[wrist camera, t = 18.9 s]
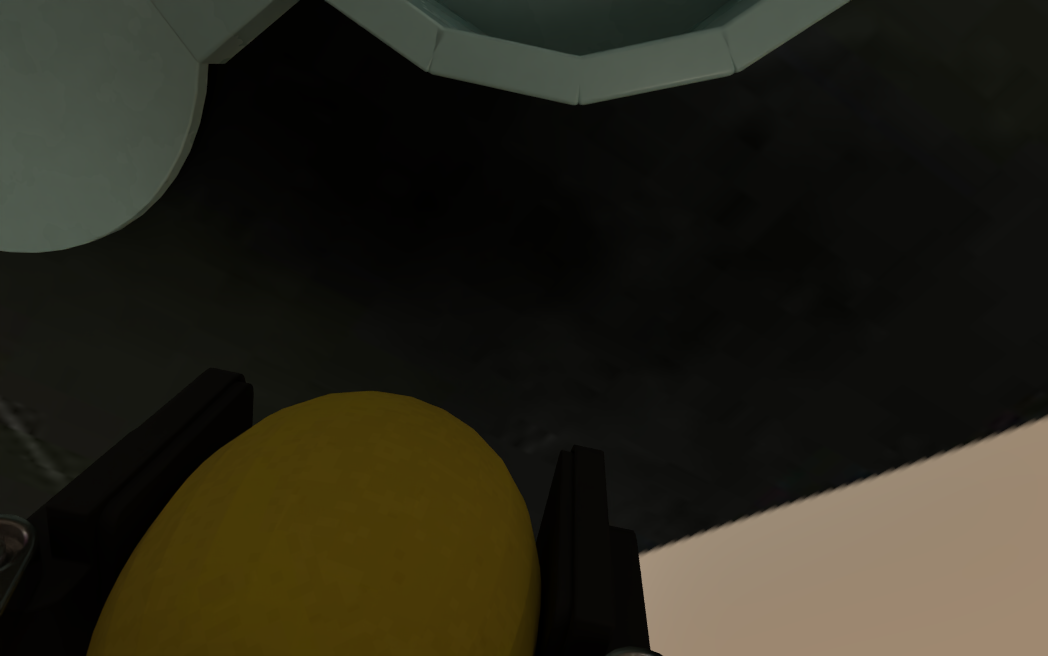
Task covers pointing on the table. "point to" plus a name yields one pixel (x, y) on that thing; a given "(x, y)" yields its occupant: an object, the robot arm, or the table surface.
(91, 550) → the robot arm
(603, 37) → the pot
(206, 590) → the lemon
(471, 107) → the table surface
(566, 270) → the table surface
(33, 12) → the lid
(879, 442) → the table surface
